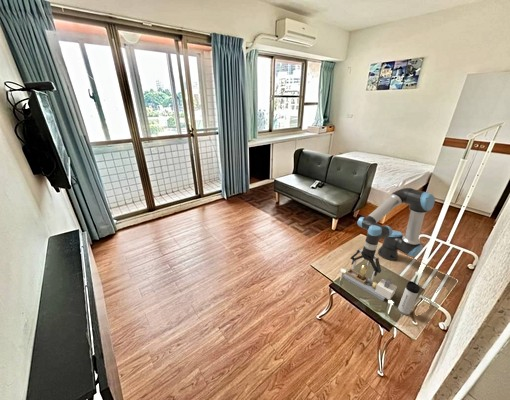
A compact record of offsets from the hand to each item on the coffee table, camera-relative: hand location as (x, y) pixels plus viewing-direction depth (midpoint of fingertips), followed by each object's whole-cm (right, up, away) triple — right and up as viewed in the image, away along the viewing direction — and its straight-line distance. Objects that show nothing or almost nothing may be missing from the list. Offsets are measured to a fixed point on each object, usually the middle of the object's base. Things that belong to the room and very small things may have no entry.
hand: (362, 273), depth 153 cm
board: (+2, -8, 0) cm, 8 cm away
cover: (+10, -9, -9) cm, 17 cm away
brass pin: (0, -5, +2) cm, 5 cm away
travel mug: (+15, -16, -20) cm, 30 cm away
